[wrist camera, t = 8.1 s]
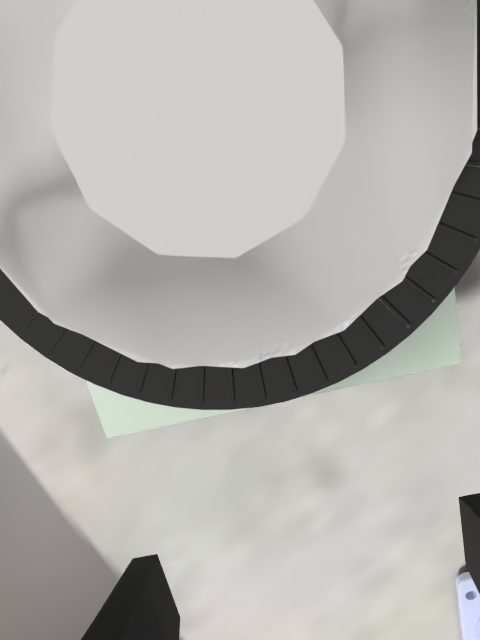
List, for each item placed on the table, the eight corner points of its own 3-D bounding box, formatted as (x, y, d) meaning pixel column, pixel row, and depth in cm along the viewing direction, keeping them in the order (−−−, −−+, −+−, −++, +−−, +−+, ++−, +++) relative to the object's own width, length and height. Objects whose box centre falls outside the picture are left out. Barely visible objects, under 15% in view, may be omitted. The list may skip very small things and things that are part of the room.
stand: (424, 333, 17) (461, 363, 14) (128, 397, 18) (107, 438, 15) (381, -25, 13) (420, -82, 11) (17, 75, 14) (-39, 48, 11)
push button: (363, 263, 13) (695, 474, 4) (201, 327, 14) (111, 654, 4) (286, 27, 11) (540, -844, 2) (103, 111, 12) (-459, -188, 2)
